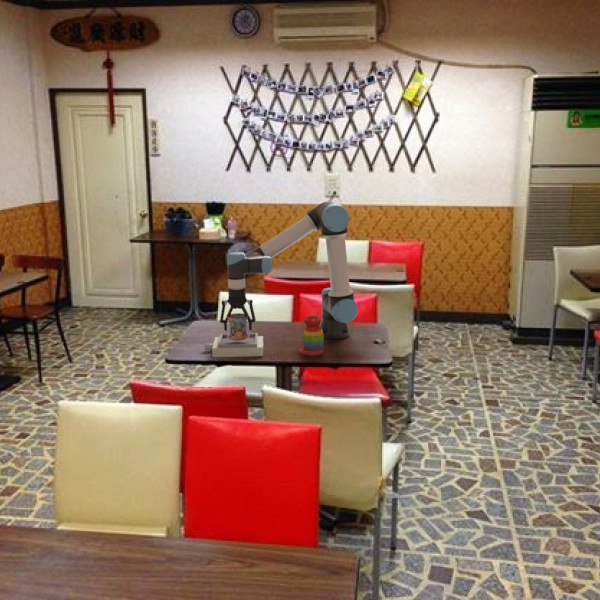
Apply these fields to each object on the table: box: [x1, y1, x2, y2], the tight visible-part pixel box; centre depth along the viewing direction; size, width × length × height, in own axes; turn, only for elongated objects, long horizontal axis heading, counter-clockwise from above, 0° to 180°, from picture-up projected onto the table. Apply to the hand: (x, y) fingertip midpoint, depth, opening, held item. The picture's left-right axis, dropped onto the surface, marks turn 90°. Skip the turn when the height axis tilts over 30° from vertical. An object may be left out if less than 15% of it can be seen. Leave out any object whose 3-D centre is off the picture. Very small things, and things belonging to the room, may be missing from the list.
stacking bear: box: [297, 312, 325, 356], centre depth 294 cm, size 11×10×18 cm
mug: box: [226, 312, 248, 341], centre depth 297 cm, size 12×9×11 cm
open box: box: [204, 332, 264, 358], centre depth 299 cm, size 26×17×6 cm, turn 93°
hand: (238, 337), depth 298 cm, fingers closed on mug, 8 cm apart
